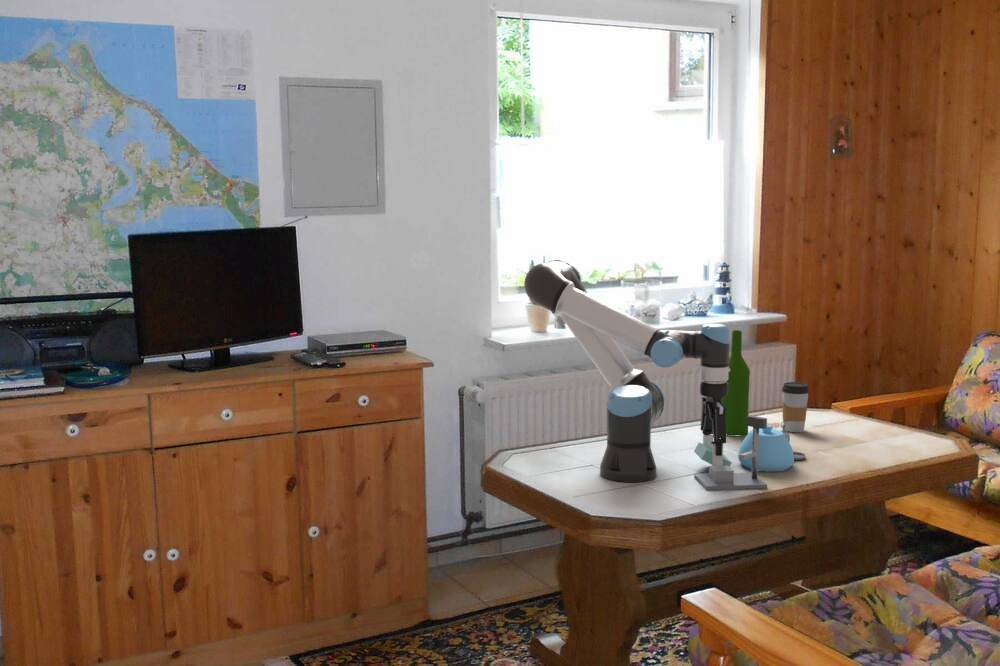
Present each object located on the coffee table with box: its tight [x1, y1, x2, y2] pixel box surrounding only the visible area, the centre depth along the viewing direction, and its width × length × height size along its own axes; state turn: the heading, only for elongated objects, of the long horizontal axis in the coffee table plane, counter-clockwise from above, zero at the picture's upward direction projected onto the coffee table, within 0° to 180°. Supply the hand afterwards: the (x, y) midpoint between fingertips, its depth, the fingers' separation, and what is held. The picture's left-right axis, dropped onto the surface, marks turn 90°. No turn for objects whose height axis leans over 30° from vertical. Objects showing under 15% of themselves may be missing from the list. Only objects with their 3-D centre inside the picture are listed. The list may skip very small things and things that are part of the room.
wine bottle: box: [721, 329, 751, 436], centre depth 308 cm, size 9×9×32 cm
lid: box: [693, 441, 733, 468], centre depth 270 cm, size 8×8×3 cm
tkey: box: [738, 414, 768, 479], centre depth 255 cm, size 7×5×16 cm
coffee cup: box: [781, 381, 810, 433], centre depth 312 cm, size 8×8×15 cm
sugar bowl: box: [737, 424, 795, 472], centre depth 273 cm, size 15×15×12 cm
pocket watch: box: [780, 421, 807, 461], centre depth 281 cm, size 8×8×10 cm
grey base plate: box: [694, 465, 768, 491], centre depth 257 cm, size 16×11×4 cm
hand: (712, 462), depth 270 cm, fingers closed on lid, 8 cm apart
